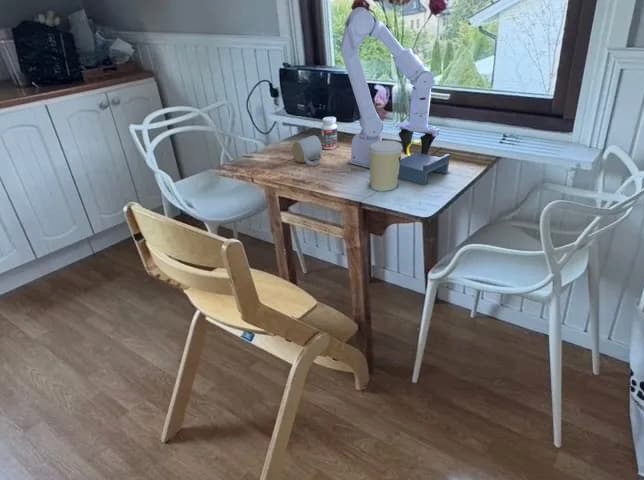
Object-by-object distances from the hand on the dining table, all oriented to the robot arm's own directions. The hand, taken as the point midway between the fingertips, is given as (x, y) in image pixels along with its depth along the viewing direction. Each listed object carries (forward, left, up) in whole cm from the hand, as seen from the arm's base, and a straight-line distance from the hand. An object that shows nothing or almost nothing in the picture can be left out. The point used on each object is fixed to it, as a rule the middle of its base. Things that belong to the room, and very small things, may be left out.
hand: (415, 155), depth 169 cm
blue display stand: (+9, -10, -1) cm, 14 cm away
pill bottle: (-33, -6, -2) cm, 34 cm away
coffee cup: (+6, -24, -2) cm, 25 cm away
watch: (0, 0, -2) cm, 2 cm away
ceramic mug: (-28, -21, -2) cm, 35 cm away
